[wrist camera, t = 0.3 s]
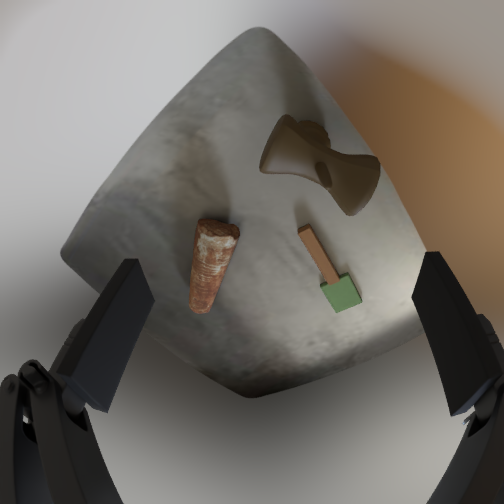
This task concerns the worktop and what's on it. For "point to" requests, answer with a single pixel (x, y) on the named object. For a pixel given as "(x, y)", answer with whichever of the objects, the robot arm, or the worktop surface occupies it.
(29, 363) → the robot arm
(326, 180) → the kendama
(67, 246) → the worktop surface
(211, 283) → the reddish brown tapered cylinder
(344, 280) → the spatula
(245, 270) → the worktop surface
